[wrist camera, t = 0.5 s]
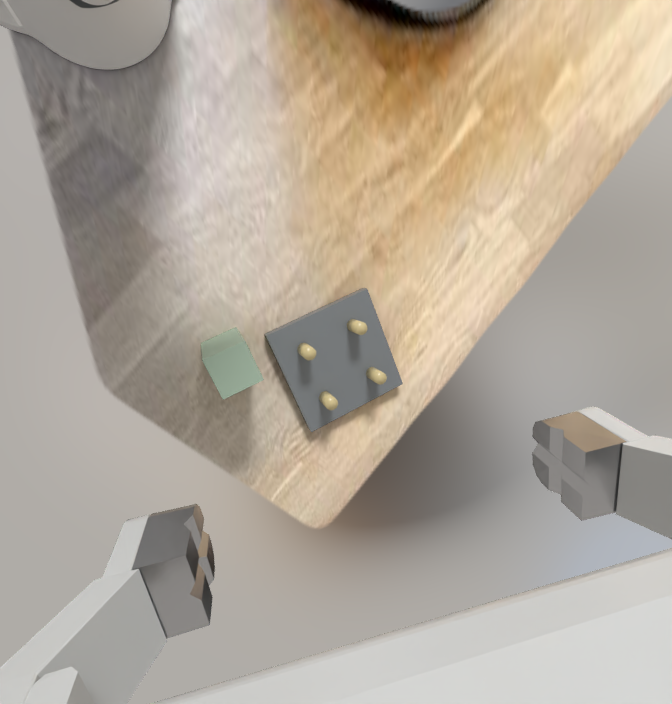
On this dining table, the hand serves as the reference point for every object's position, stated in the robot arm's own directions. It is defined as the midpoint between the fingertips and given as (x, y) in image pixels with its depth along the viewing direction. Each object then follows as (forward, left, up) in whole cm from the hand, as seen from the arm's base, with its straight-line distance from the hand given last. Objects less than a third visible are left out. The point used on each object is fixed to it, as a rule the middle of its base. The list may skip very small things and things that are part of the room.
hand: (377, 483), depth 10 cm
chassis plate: (+12, +9, -45) cm, 47 cm away
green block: (+5, -3, -45) cm, 45 cm away
